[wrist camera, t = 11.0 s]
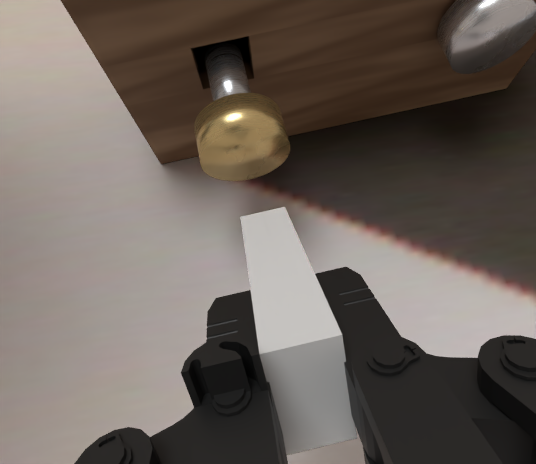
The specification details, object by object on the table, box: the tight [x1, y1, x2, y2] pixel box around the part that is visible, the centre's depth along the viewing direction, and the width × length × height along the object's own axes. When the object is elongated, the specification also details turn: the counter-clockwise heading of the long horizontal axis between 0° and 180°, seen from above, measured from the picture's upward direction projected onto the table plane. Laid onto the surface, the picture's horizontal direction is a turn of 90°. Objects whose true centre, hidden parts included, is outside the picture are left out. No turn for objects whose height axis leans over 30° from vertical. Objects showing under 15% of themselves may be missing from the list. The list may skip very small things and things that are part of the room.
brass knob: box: [194, 42, 290, 181], centre depth 20 cm, size 6×4×4 cm
